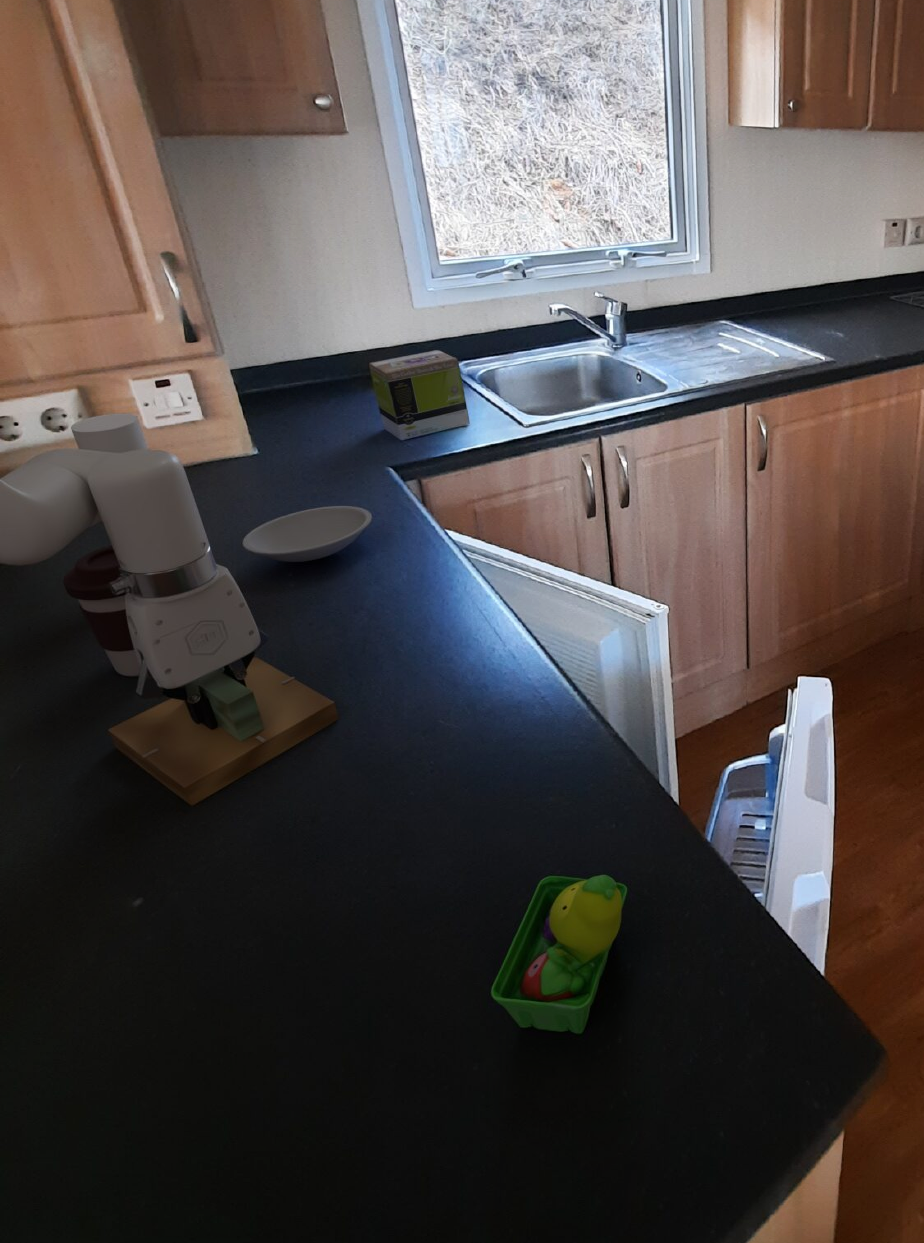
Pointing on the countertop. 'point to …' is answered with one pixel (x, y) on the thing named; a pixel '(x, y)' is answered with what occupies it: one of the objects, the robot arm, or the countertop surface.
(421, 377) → the tea box
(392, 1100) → the countertop surface
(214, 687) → the green rectangular block
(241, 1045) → the countertop surface
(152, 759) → the base
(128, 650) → the coffee cup
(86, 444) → the cylindrical container
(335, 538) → the dish
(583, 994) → the fruit basket
